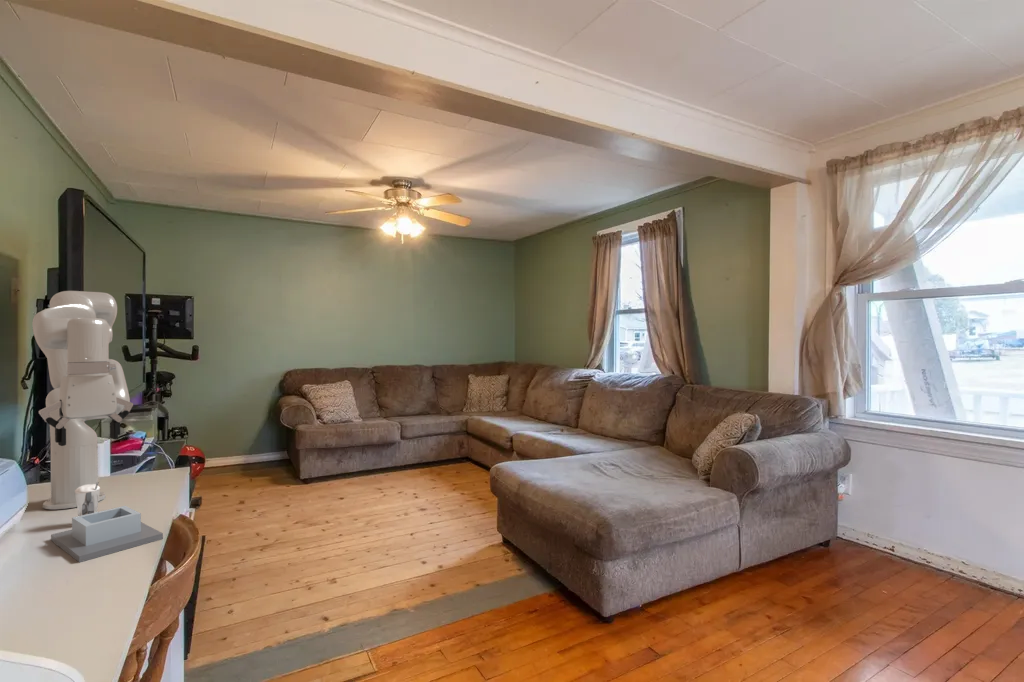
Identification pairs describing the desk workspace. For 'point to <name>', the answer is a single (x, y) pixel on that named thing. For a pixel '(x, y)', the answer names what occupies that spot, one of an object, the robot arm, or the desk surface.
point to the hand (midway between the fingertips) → (88, 441)
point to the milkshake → (87, 498)
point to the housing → (105, 533)
